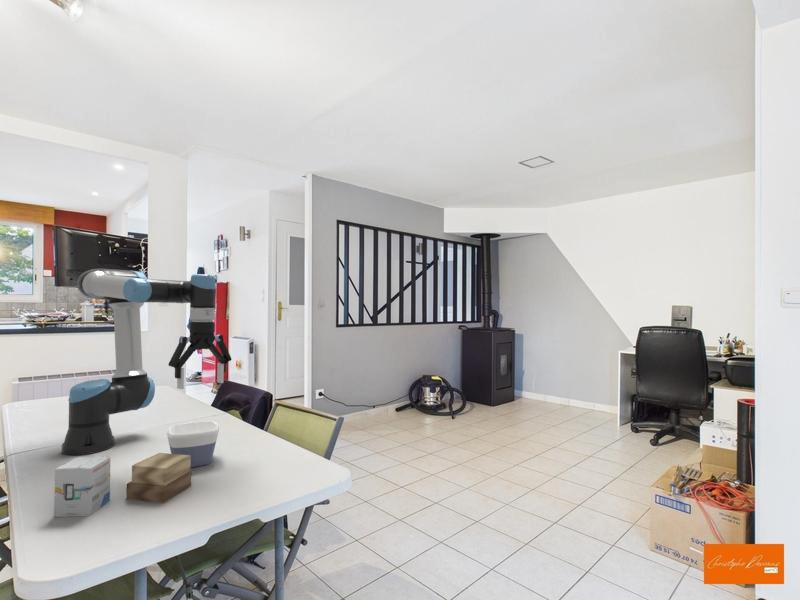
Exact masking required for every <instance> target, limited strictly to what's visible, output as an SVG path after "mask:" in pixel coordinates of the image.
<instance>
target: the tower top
mask: <svg viewBox="0 0 800 600" xmlns="http://www.w3.org/2000/svg"><path fill="white" fill-rule="evenodd" d="M190 466H191V455H180V454H171V453H168V452H167V453H166V452H158V453H156V454H154V455H152V456H150V457H146V458H145V459H142V460H141V461H139V462H136V463H135V464H132V465H131V481H132V483H142V484H152V485H163V486H166V485H167V484H169V483H171V482H173V481H174V480H176V479H178V478H180V477H181V476H183V475H185V474H186V473H188V472H190V471H191V467H190Z"/></svg>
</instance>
